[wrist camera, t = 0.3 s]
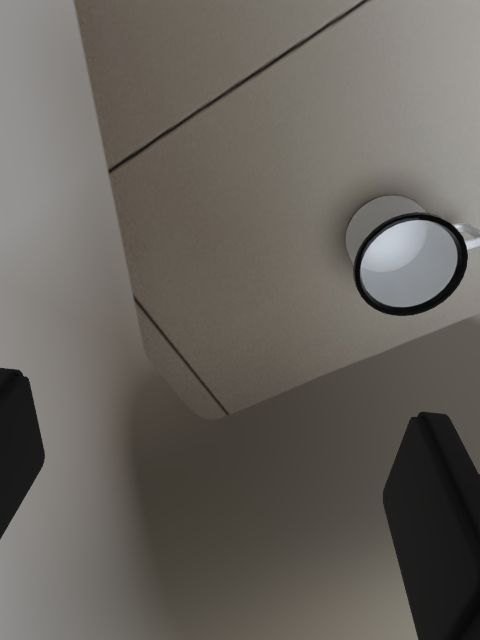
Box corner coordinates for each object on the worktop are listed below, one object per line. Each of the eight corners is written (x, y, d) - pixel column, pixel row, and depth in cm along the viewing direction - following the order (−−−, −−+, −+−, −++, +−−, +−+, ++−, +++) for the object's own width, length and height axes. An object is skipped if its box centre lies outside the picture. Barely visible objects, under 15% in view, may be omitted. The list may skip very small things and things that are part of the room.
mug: (346, 284, 48) (361, 325, 40) (333, 201, 43) (347, 228, 35) (460, 261, 46) (499, 300, 38) (458, 171, 41) (503, 194, 33)
